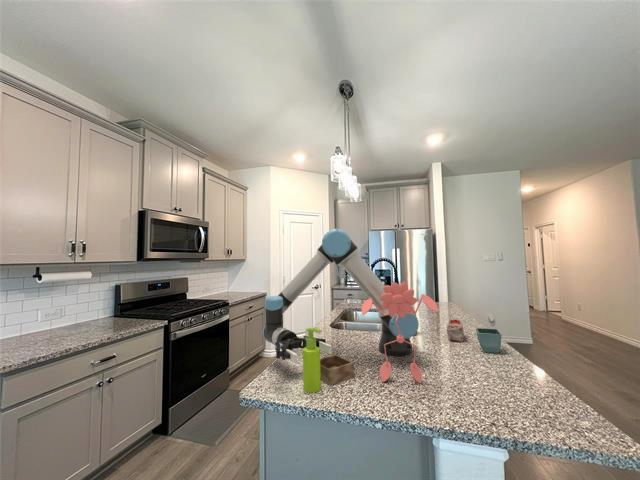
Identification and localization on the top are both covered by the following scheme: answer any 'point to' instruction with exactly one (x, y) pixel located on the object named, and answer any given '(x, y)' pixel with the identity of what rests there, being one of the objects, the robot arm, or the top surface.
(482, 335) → the flower pot
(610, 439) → the top surface
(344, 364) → the walnut caddy
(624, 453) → the top surface
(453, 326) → the food item
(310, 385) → the soap dispenser
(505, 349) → the top surface
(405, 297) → the figurine
